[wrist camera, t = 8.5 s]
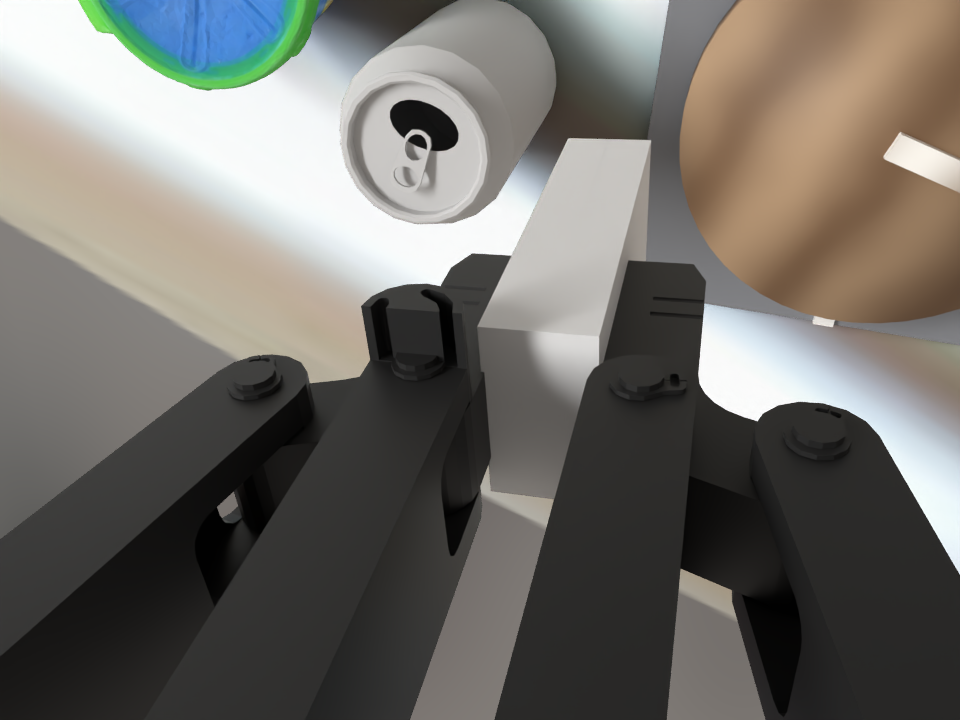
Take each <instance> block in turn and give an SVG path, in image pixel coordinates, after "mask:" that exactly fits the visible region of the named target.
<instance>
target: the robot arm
mask: <svg viewBox="0 0 960 720" xmlns="http://www.w3.org/2000/svg"><path fill="white" fill-rule="evenodd" d="M650 155H651V140H624V139H580V138H568V140H567V142H566V144H565V146H564V148H563V150H562V152H561V155H560V157H559V159H558V161H557V163H556V165H555V167H554V169H553V171H552V173H551V175H550V177H549V179H548V181H547V184H546V186H545V188H544V190H543V192H542V194H541V196H540V198H539V200H538V202H537V204H536V206H535V208H534V210H533V212H532V215H531V217H530V219H529V221H528V223H527V225H526V227H525V229H524V231H523V233H522V235H521V237H520V239H519V241H518V243H517V246H516V248H515V250H514V252H513V254H512V256H506V255H489V254H471V255H469V256H468V257H466V258H465V259H463V260H462V261H460V262H459V263H458V264H456V265H455V266H453V267H452V268H451V269H450V271H449V272H448V274H447V276H446V277H445V279H444V281H443V283H442V284H441V286H436V285H430V284H407V285H403V286H398V287H394V288H389V289H387V290H384V291H382V292H380V293H378V294H376V295H374V296H372V297H371V298H370V299H368V300H367V301H366V302H365V303H364V304H363V305H362V306H361V308H362V313H363V319H364V325H365V331H366V337H367V343H368V349H369V355H370V362H369V363H368V365H367V366H366V368H365V369H364V371H363V373H362V374H361V376H360V377H357V378H351V379H346V380H338V381H329V382H320V383H309V378H308V374H307V371H306V369H305V368H304V366H303V365H302V363H301V362H299V361H297V360H294V359H292V358H290V357H288V356H279V355H262V356H260V355H258V356H252V357H249V358H247V359H243V360H240V361H237V362H234V363H232V364H230V365H229V366H227V367H225V368H224V369H222V370H220V371H218V372H217V373H216V374H215V375H213V376H212V377H210V378H209V379H208V380H207V381H205V382H204V383H203V384H201V385H200V386H199V387H197V388H196V389H195V390H194V391H192V392H191V393H190V394H188V395H187V396H186V397H184V398H183V399H182V400H181V401H180V402H178V403H177V404H176V405H174V406H173V407H171V408H170V409H169V410H168V411H166V412H165V413H164V414H162V415H161V416H160V417H158V418H157V419H156V420H155V421H153V422H152V423H151V424H149V425H148V426H147V427H145V428H144V429H143V430H142V431H140V432H139V433H138V434H136V435H135V436H134V437H133V438H131V439H130V440H129V441H127V442H126V443H125V444H123V445H122V446H121V447H120V448H118V449H117V450H116V451H114V452H113V453H112V454H110V455H109V456H108V457H107V458H105V459H104V460H103V461H101V462H100V463H99V464H97V465H96V466H95V467H94V468H92V469H91V470H90V471H88V472H87V473H86V474H84V475H83V476H82V477H81V478H79V479H78V480H77V481H76V482H74V483H73V484H71V485H70V486H69V487H68V488H66V489H65V490H64V491H62V492H61V493H60V494H58V495H57V496H56V497H55V498H53V499H52V500H51V501H50V502H48V503H47V504H45V505H44V506H43V507H42V508H40V509H39V510H38V511H36V512H35V513H34V514H33V515H31V516H30V517H29V518H27V519H26V520H25V521H23V522H22V523H21V524H20V525H18V526H17V527H16V528H14V529H13V530H12V531H10V532H9V533H8V534H7V535H5V536H4V537H3V538H1V539H0V720H410V718H411V715H412V712H413V709H414V706H415V704H416V701H417V698H418V695H419V693H420V689H421V687H422V684H423V681H424V678H425V676H426V673H427V670H428V667H429V664H430V661H431V658H432V655H433V652H434V650H435V647H436V644H437V641H438V638H439V636H440V633H441V630H442V627H443V624H444V621H445V619H446V616H447V613H448V610H449V607H450V604H451V602H452V599H453V596H454V593H455V590H456V587H457V585H458V582H459V579H460V576H461V573H462V571H463V567H464V565H465V562H466V559H467V556H468V554H469V550H470V548H471V545H472V542H473V539H474V537H475V534H476V531H477V528H478V525H479V522H480V519H481V512H482V500H481V489H480V485H481V483H482V480H483V477H484V475H485V472H486V469H487V467H488V464H489V474H490V486H491V491H494V492H502V493H510V494H518V495H525V496H533V497H541V498H549V499H554V502H553V506H552V509H551V513H550V517H549V520H548V524H547V528H546V532H545V535H544V539H543V543H542V546H541V550H540V554H539V557H538V561H537V565H536V569H535V572H534V576H533V580H532V583H531V587H530V591H529V594H528V598H527V602H526V606H525V609H524V613H523V617H522V620H521V624H520V627H519V631H518V635H517V639H516V642H515V646H514V650H513V653H512V657H511V661H510V665H509V668H508V672H507V675H506V679H505V683H504V686H503V690H502V694H501V698H500V702H499V705H498V709H497V713H496V716H495V720H667V709H668V698H669V687H670V677H671V666H672V655H673V644H674V633H675V622H676V612H677V601H678V590H679V579H680V568H681V569H683V570H685V571H688V572H690V573H693V574H695V575H697V576H700V577H702V578H704V579H707V580H709V581H712V582H714V583H716V584H719V585H721V586H723V587H726V588H728V589H731V590H732V603H733V606H734V610H735V613H736V617H737V620H738V624H739V628H740V631H741V635H742V638H743V642H744V645H745V648H746V652H747V655H748V659H749V663H750V666H751V670H752V673H753V676H754V680H755V684H756V687H757V691H758V694H759V698H760V702H761V705H762V709H763V712H764V716H765V719H766V720H960V575H959V573H958V571H957V569H956V568H955V566H954V564H953V562H952V561H951V559H950V557H949V556H948V554H947V552H946V550H945V549H944V547H943V545H942V543H941V542H940V540H939V538H938V537H937V535H936V533H935V531H934V530H933V528H932V526H931V524H930V523H929V521H928V519H927V518H926V516H925V514H924V512H923V511H922V509H921V507H920V505H919V504H918V502H917V500H916V499H915V497H914V495H913V493H912V492H911V490H910V488H909V486H908V485H907V483H906V481H905V480H904V478H903V476H902V474H901V473H900V471H899V469H898V467H897V466H896V464H895V462H894V461H893V459H892V457H891V455H890V454H889V452H888V450H887V448H886V447H885V445H884V443H883V442H882V440H881V438H880V436H879V435H878V434H877V433H876V432H875V431H874V430H873V429H872V427H871V426H870V425H869V424H868V423H867V422H866V421H864V420H862V419H861V418H859V417H857V416H856V415H854V414H852V413H850V412H849V411H847V410H844V409H840V408H837V407H833V406H830V405H826V404H822V403H808V402H796V403H790V404H784V405H778V406H777V407H775V408H773V409H771V410H769V411H767V412H765V413H764V414H762V416H761V417H760V419H759V420H758V422H757V421H754V420H751V419H748V418H744V417H742V416H739V415H737V414H734V413H732V412H729V411H727V410H725V409H724V408H722V407H720V406H719V405H717V404H715V403H714V402H713V401H712V400H711V399H710V398H709V397H708V396H707V395H706V394H705V393H704V391H703V390H702V388H701V386H700V384H699V378H698V370H699V358H700V347H701V335H702V324H703V313H704V301H705V290H706V280H705V279H704V278H703V276H702V275H701V273H700V272H699V271H698V269H697V268H696V267H695V265H694V264H684V263H667V262H650V261H646V243H647V221H648V199H649V177H650ZM233 491H234V494H235V497H236V500H237V503H238V507H237V508H236V509H235V510H234V511H233V512H232V513H230V514H228V515H227V516H225V517H224V518H221V517H220V515H219V512H218V509H217V506H218V505H220V503H222V502H223V500H225V499H226V498H227V497H228V496H229V495H230V494H231V493H232V492H233Z"/></svg>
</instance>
